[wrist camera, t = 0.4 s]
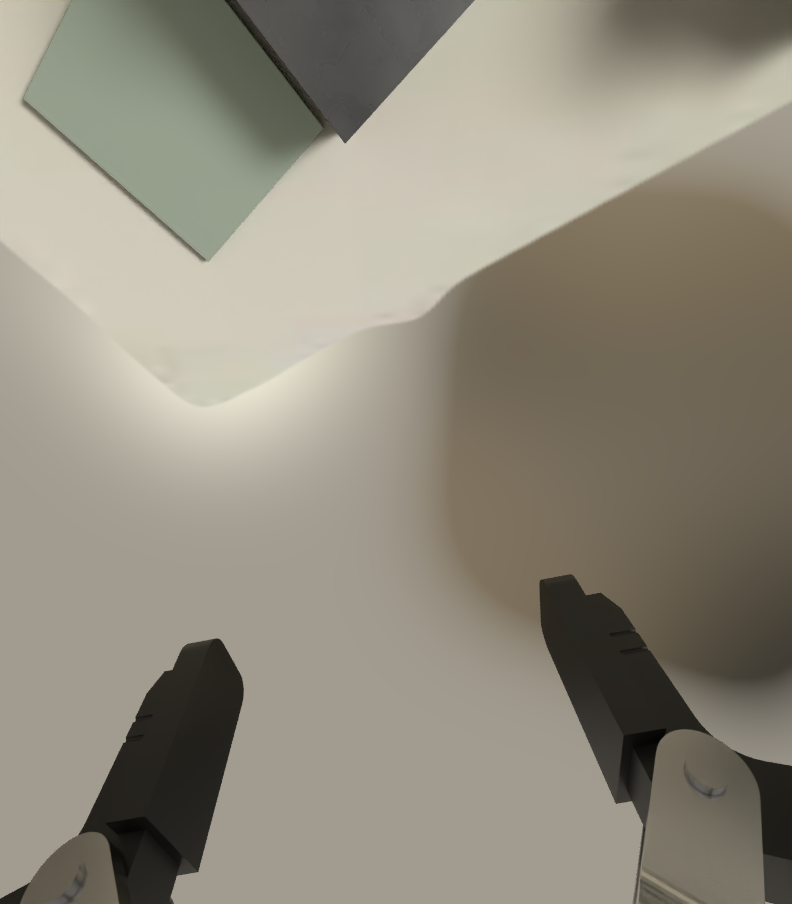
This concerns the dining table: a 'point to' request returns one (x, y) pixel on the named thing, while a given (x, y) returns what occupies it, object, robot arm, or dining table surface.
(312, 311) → the dining table surface
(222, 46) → the mat
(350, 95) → the housing
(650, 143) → the dining table surface
